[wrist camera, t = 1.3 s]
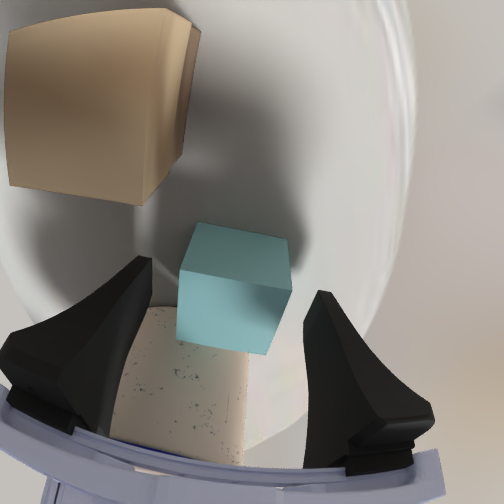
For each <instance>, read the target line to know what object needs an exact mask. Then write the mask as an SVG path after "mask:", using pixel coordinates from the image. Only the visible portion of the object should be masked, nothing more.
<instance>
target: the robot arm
mask: <svg viewBox="0 0 504 504" xmlns="http://www.w3.org/2000/svg"><path fill="white" fill-rule="evenodd" d="M151 296H152V258H148V257H143V256H137V257H136V258H135V259H134V260H132V261H131V262H130V263H129V264H128V265H127V266H125V267H124V268H123V269H122V270H121V271H120V272H118V273H117V274H116V275H115V276H114V277H112V278H111V279H110V280H109V281H108V282H106V283H105V284H104V285H102V286H101V287H100V288H98V289H97V290H96V291H95V292H93V293H92V294H91V295H89V296H88V297H86V298H85V299H83V300H82V301H80V302H79V303H77V304H76V305H74V306H72V307H71V308H69V309H67V310H65V311H63V312H61V313H59V314H57V315H56V316H54V317H52V318H49V319H47V320H45V321H43V322H40V323H38V324H35V325H33V326H30V327H27V328H24V329H21V330H18V331H15V332H12V333H10V335H9V336H8V338H7V339H6V341H5V343H4V345H3V346H2V348H1V350H0V369H1V371H2V372H3V373H4V375H5V376H6V377H7V379H8V380H9V381H10V383H11V384H12V387H11V390H10V391H9V390H8V389H7V388H6V387H5V386H3V385H1V384H0V450H2V451H4V452H5V453H7V454H8V455H10V456H12V457H13V458H15V459H16V460H18V461H20V462H22V463H23V464H25V465H27V466H29V467H30V468H32V469H34V470H36V471H38V472H40V473H42V474H44V475H46V476H47V481H46V484H45V487H44V491H43V495H42V499H41V504H424V503H426V502H430V501H432V500H435V499H438V498H440V497H443V496H445V495H446V490H445V485H444V479H443V474H442V468H441V463H440V458H439V454H438V450H437V449H431V450H427V451H422V452H418V453H415V454H413V455H412V450H411V449H413V448H414V447H415V443H414V440H415V439H416V438H418V437H419V436H421V435H422V434H424V433H425V432H426V431H428V430H429V429H430V428H431V427H432V426H433V425H434V423H435V418H434V415H433V411H432V407H431V404H430V403H429V402H428V401H426V400H425V399H424V398H422V397H420V396H419V395H418V394H416V393H415V392H413V391H412V390H411V389H410V388H409V387H407V386H406V385H405V384H404V383H402V382H401V381H400V380H399V379H398V378H397V377H396V376H395V375H394V374H392V373H391V371H390V370H389V369H388V368H387V367H386V366H385V365H384V364H383V363H382V362H381V361H380V360H379V359H378V358H377V357H376V355H375V354H374V353H373V352H372V351H371V350H370V349H369V347H368V346H367V344H366V343H365V342H364V340H363V339H362V338H361V336H360V335H359V334H358V332H357V331H356V329H355V328H354V326H353V325H352V323H351V322H350V320H349V319H348V317H347V316H346V314H345V313H344V311H343V310H342V308H341V307H340V305H339V303H338V302H337V300H336V299H335V297H334V296H333V294H332V293H331V292H328V291H322V290H318V291H317V294H316V296H315V298H314V300H313V302H312V304H311V307H310V309H309V311H308V313H307V315H306V317H305V319H304V321H303V344H304V353H305V362H306V370H307V379H308V392H309V398H308V428H307V439H306V450H305V456H304V463H303V469H278V468H259V467H246V466H236V465H227V464H219V463H212V462H205V461H199V460H193V459H188V458H182V457H177V456H172V455H168V454H163V453H159V452H155V451H151V450H147V449H143V448H139V447H136V446H132V445H129V444H125V443H122V442H119V441H115V440H112V439H109V435H110V428H111V422H112V416H113V411H114V406H115V401H116V396H117V392H118V388H119V384H120V380H121V376H122V373H123V369H124V365H125V362H126V359H127V356H128V354H129V351H130V349H131V347H132V344H133V342H134V340H135V337H136V335H137V333H138V330H139V328H140V326H141V324H142V321H143V319H144V317H145V315H146V312H147V309H148V306H149V302H150V299H151ZM129 464H130V465H129ZM132 465H133V466H132ZM134 466H137V467H140V468H144V469H148V470H152V471H156V472H161V473H165V474H170V475H161V476H160V475H155V474H149V473H144V472H139V471H135V468H134ZM172 475H174V476H172ZM178 476H179V477H178ZM274 487H284V488H283V489H279V488H274Z"/></svg>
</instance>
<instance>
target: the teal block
mask: <svg viewBox="0 0 504 504" xmlns="http://www.w3.org/2000/svg"><path fill="white" fill-rule="evenodd" d="M291 293H292V281H291V271H290V261H289V252H288V243H287V239H283V238H278V237H273V236H268V235H263V234H258V233H253V232H248V231H243V230H238V229H233V228H228V227H223V226H218V225H212V224H207V223H202V222H198V223H197V225H196V228H195V230H194V233H193V236H192V238H191V241H190V243H189V246H188V249H187V251H186V254H185V257H184V259H183V262H182V265H181V267H180V272H179V288H178V306H177V330H176V340H181V341H186V342H191V343H196V344H201V345H206V346H211V347H217V348H223V349H228V350H234V351H241V352H247V353H254V354H260V355H266V354H267V351H268V349H269V347H270V344H271V342H272V340H273V337H274V335H275V332H276V330H277V328H278V325H279V323H280V320H281V318H282V315H283V313H284V310H285V308H286V305H287V303H288V300H289V298H290V295H291Z"/></svg>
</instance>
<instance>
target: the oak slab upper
mask: <svg viewBox="0 0 504 504" xmlns="http://www.w3.org/2000/svg"><path fill="white" fill-rule="evenodd" d="M191 25H192V23H191V22H190V21H188V20H186V19H184V18H183V17H181V16H179V15H177V14H176V13H174V12H172V11H170V10H168V9H166V8H141V9H124V10H112V11H103V12H95V13H88V14H81V15H75V16H69V17H64V18H59V19H55V20H50V21H46V22H42V23H38V24H34V25H30V26H27V27H23V28H20V29H16V30H13V31H10V32H9V39H8V47H7V55H6V66H5V81H4V132H5V147H6V159H7V168H8V176H9V183H10V186H16V187H23V188H30V189H37V190H44V191H51V192H58V193H64V194H71V195H77V196H84V197H90V198H96V199H103V200H109V201H115V202H121V203H127V204H133V205H139V206H143V204H144V203H145V202H146V201H147V199H148V198H149V197H150V196H151V194H152V193H153V192H154V191H155V189H156V188H157V187H158V186H159V184H160V183H161V182H162V181H163V180H164V178H165V177H166V176H167V175H168V174H169V169H170V159H171V149H172V140H173V132H174V124H175V116H176V109H177V102H178V95H179V89H180V83H181V77H182V71H183V65H184V60H185V54H186V49H187V44H188V39H189V34H190V29H191Z"/></svg>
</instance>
